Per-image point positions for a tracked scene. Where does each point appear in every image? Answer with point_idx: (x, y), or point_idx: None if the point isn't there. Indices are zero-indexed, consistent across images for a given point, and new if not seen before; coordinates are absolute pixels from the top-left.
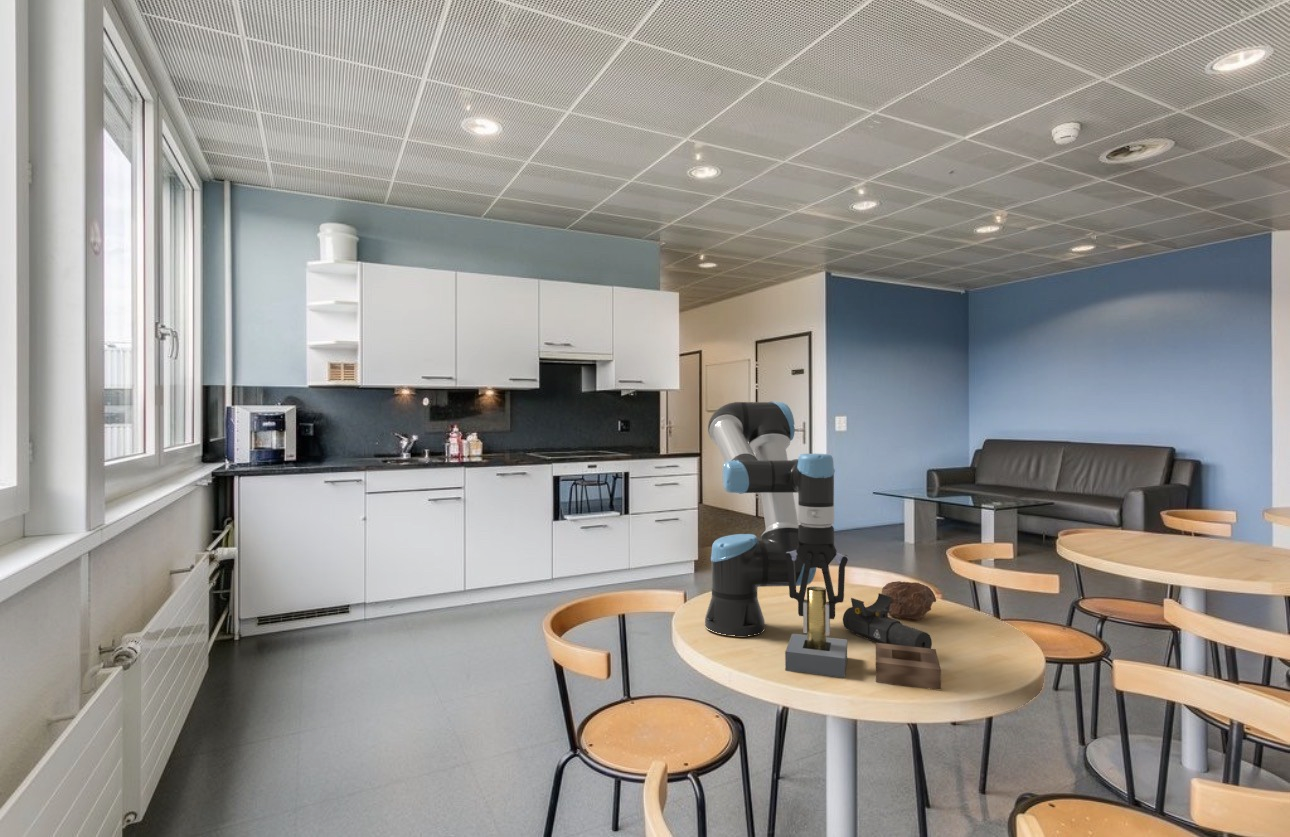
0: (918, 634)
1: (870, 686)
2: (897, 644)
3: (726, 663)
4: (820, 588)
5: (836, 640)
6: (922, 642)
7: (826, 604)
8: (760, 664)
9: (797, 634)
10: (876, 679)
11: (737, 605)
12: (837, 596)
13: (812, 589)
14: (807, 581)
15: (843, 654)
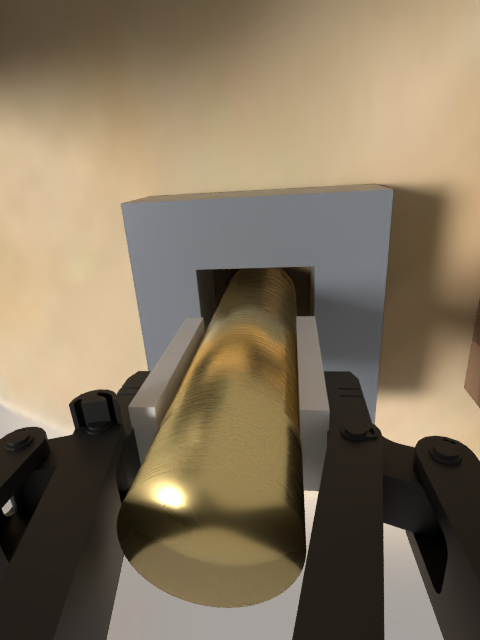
0: None
1: (440, 422)
2: None
3: (4, 385)
4: (245, 526)
5: (338, 226)
6: None
7: (307, 481)
8: (92, 362)
9: (146, 207)
10: (469, 391)
11: None
12: (412, 519)
13: (176, 565)
14: (92, 619)
15: (370, 390)
